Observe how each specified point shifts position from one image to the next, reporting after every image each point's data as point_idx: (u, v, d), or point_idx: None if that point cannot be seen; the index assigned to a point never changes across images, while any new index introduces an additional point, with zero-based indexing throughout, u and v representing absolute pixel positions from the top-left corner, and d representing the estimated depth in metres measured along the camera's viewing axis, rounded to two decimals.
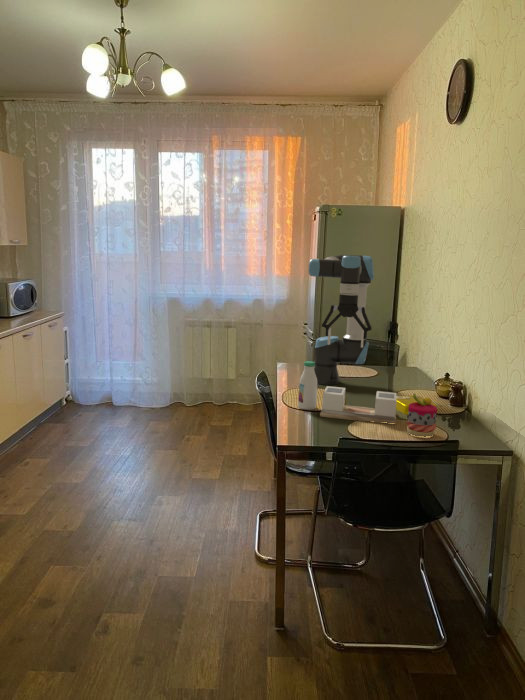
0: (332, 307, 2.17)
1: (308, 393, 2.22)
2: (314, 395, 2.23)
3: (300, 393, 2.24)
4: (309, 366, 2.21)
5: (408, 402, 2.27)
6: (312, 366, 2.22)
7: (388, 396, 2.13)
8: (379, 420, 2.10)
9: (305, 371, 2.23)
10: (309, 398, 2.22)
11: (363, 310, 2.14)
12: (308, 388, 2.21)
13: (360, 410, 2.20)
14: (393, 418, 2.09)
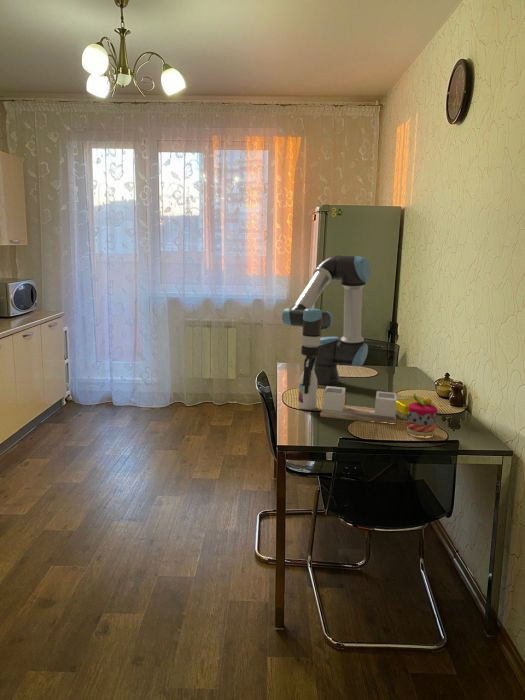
0: None
1: None
2: (314, 395, 2.23)
3: (300, 393, 2.24)
4: None
5: (407, 402, 2.26)
6: None
7: (388, 396, 2.13)
8: (379, 420, 2.10)
9: None
10: (309, 398, 2.22)
11: None
12: None
13: (360, 410, 2.20)
14: (393, 418, 2.09)
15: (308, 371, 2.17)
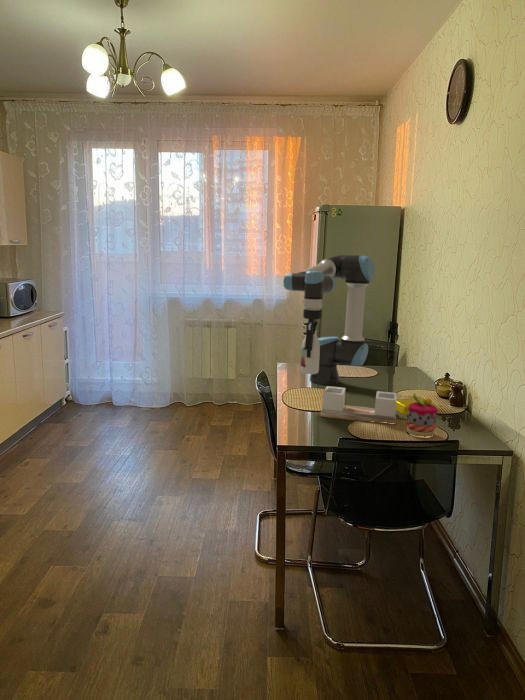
0: None
1: None
2: (316, 359, 2.20)
3: (302, 357, 2.21)
4: None
5: (407, 402, 2.26)
6: None
7: (388, 396, 2.13)
8: (379, 420, 2.10)
9: None
10: None
11: None
12: None
13: (360, 410, 2.20)
14: (393, 418, 2.09)
15: (310, 334, 2.14)
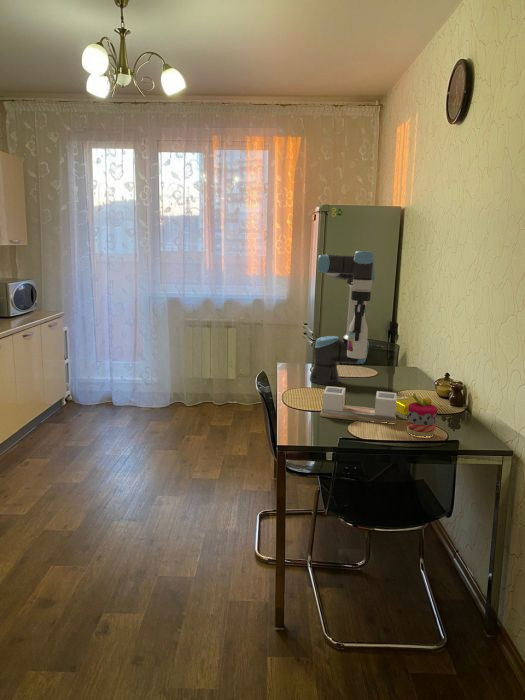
0: None
1: None
2: (364, 343, 2.11)
3: (350, 341, 2.12)
4: None
5: (407, 402, 2.26)
6: None
7: (388, 396, 2.13)
8: (379, 420, 2.10)
9: None
10: None
11: (355, 309, 2.06)
12: None
13: (360, 410, 2.20)
14: (393, 418, 2.09)
15: (359, 316, 2.06)
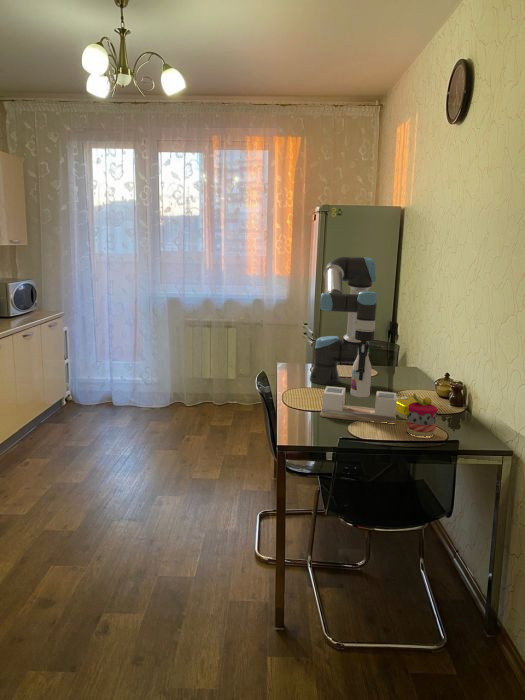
0: None
1: None
2: (368, 382, 2.13)
3: (353, 380, 2.14)
4: None
5: (407, 403, 2.26)
6: None
7: (388, 396, 2.13)
8: (379, 420, 2.10)
9: None
10: None
11: (359, 350, 2.08)
12: None
13: (360, 410, 2.20)
14: (393, 418, 2.09)
15: (364, 357, 2.08)
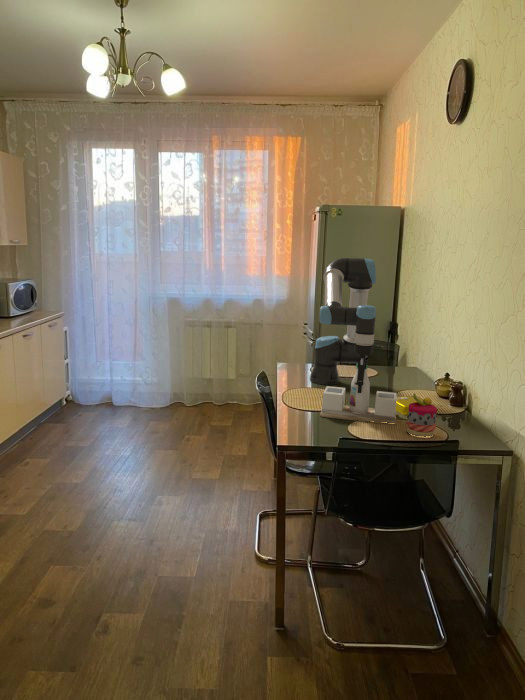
0: None
1: None
2: (367, 398, 2.15)
3: (352, 396, 2.16)
4: None
5: (406, 403, 2.26)
6: None
7: (388, 396, 2.13)
8: (379, 420, 2.10)
9: (357, 374, 2.15)
10: (362, 402, 2.14)
11: (358, 362, 2.09)
12: None
13: None
14: (393, 418, 2.09)
15: (362, 369, 2.08)
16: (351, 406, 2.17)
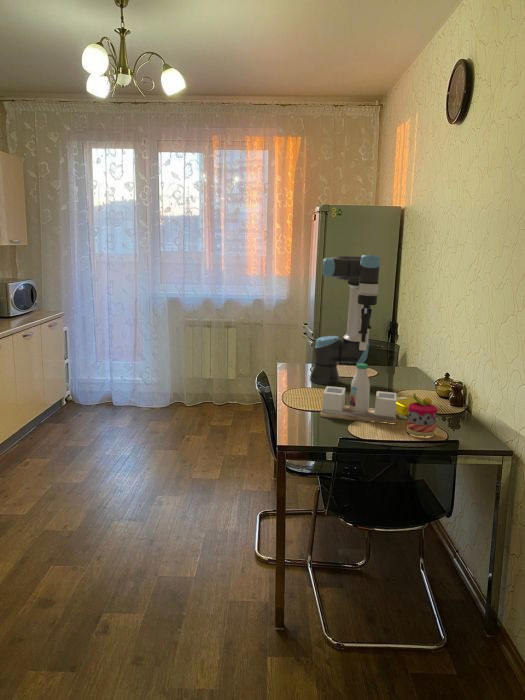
0: None
1: (361, 397, 2.14)
2: (367, 398, 2.15)
3: (352, 396, 2.16)
4: (362, 368, 2.13)
5: (406, 403, 2.26)
6: (365, 368, 2.14)
7: (388, 396, 2.13)
8: (379, 420, 2.10)
9: (357, 373, 2.15)
10: (362, 402, 2.14)
11: (362, 311, 2.05)
12: (361, 391, 2.14)
13: None
14: (393, 418, 2.09)
15: (366, 317, 2.04)
16: (351, 406, 2.17)
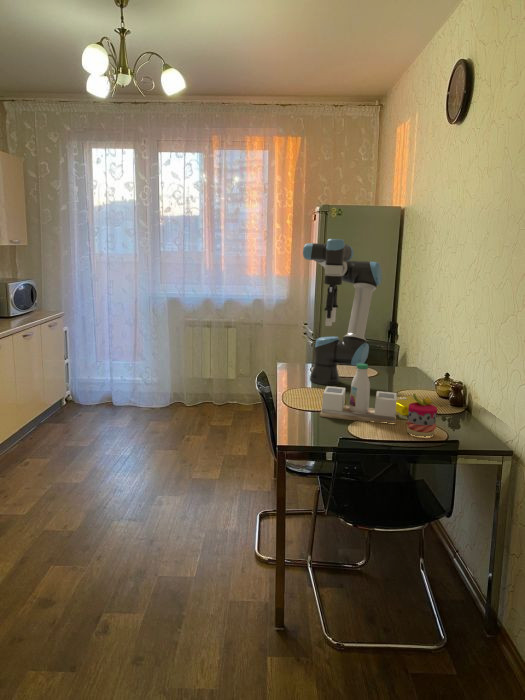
0: None
1: (361, 397, 2.14)
2: (367, 399, 2.15)
3: (352, 396, 2.16)
4: (362, 368, 2.13)
5: (406, 403, 2.25)
6: (365, 369, 2.14)
7: (388, 396, 2.13)
8: (379, 420, 2.10)
9: (358, 374, 2.15)
10: (362, 402, 2.14)
11: (328, 290, 2.25)
12: (361, 391, 2.13)
13: None
14: (393, 418, 2.09)
15: (331, 295, 2.24)
16: (351, 406, 2.17)
